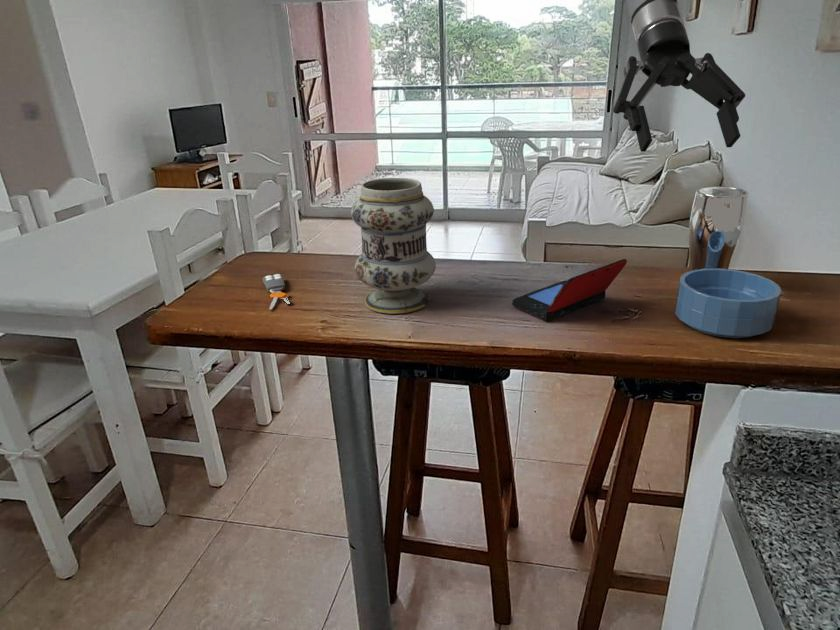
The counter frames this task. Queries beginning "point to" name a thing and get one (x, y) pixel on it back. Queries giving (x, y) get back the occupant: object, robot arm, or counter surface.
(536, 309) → the handheld console
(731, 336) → the bowl
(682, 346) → the counter surface
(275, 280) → the key chain
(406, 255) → the apothecary jar
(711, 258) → the beer glass
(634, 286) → the counter surface
